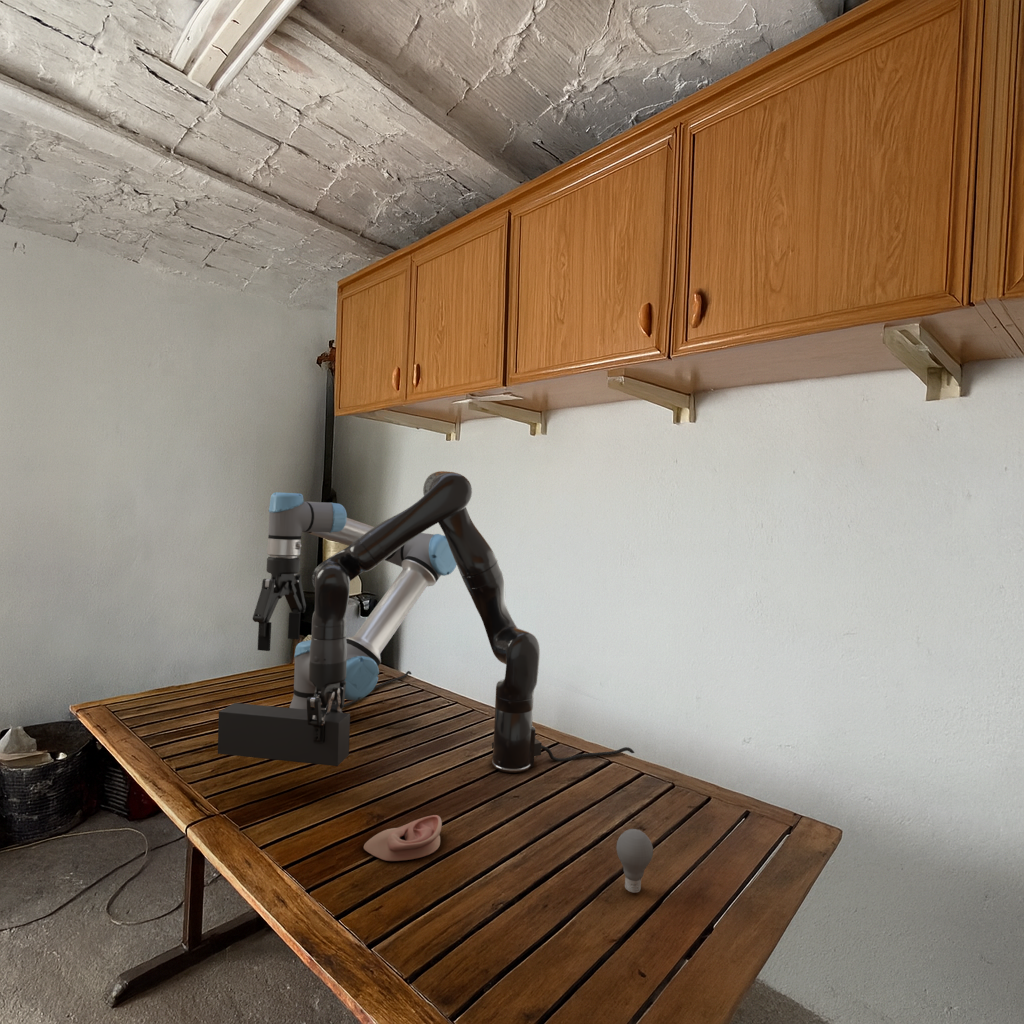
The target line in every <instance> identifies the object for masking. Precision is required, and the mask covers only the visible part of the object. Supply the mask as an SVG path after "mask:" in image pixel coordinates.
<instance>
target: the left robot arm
mask: <svg viewBox="0 0 1024 1024" xmlns="http://www.w3.org/2000/svg"><path fill="white" fill-rule="evenodd" d="M268 512H269V513H268V536H267V537H268V538H267V547H266V548H267V549H266V554H267V555H268V557H267V558H266V573H269V574H270V575H271V576H270V578H263V579H262V583H261V590H260V592H259V596H258V599H257V602H256V606H255V609H254V612H253V615H252V621H253V622H254V623H258V629H257V630H258V631H257V651H263V652H270V651H271V642H272V641H271V640H272V639H271V638H272V621H271V622H270V620H271V618H272V616H273V614H274V612H275V610H276V607H277V605H278V603H279V600H281V599H282V598H283V597H285V600H286V602H287V604H288V607H289V609H290V611H291V612H289V613H288V627H287V639H290V640H300V636H301V635H300V634H301V633H300V632H301V613H302V614H304V613H306V608H307V604H306V599H305V594H304V589H303V585H302V584H303V583H302V574H300V573H299V572H300V570H301V558H300V557H299V556H300V555H301V548H302V547H303V545H302V543H301V542H302V533H304V534H309V535H311V536H315V537H319V538H322V539H325V540H328V541H332V542H335V543H338V544H342V545H344V546H347V547H348V546H350V545H351V544H352V543H353V542H354V541H356V540H357V539H358V538H360V537H361V536H362V535H364V534H365V533H367V532H368V531H369V530H371V529H372V528H374V527H375V526H372V525H370V524H367V523H364V522H362V521H358V520H356V519H352V518H349V517H348V514H347V509H346V508H345V506H344V505H342V504H341V503H338V502H337V503H336V502H330V501H329V502H324V501H323V502H321V501H305V499H304V495H303V494H302V493H298V492H297V493H295V492H279V491H278V492H277V491H276V492H273V493H272V494H271V495H270V499H269V509H268ZM384 561H386V562H388V563H391V564H393V565H396V566H398V567H400V568H402V569H401V571H400V572H399V574H398V576H396V578H395V580H394V581H393V582H392V583H391V585H390V586H389V588H388V589H387V590H386V592H385V593H384V595H383V596H382V597H381V599H380V600H378V601H379V602H378V603H377V604H376V605H375V607H373V610H372V611H371V612H370V614H369V615H368V616H367V618H366V619H365V620H364V622H363V623H362V625H361V626H360V628H359V629H357V631H356V633H355V634H354V635H353V636H348V637H346V641H347V666H346V679H345V680H344V681H346V689H345V699H344V700H347V701H349V702H347V703H344V707H343V708H346V707H349V706H351V705H353V704H355V703H357V702H359V701H360V700H362V699H364V698H366V697H367V696H368V695H369V694H370V693H372V692H373V691H374V690H377V689H378V688H381V687H383V686H385V685H388V684H391V683H393V682H396V681H400V680H402V679H404V678H406V677H408V675H412V672H411V671H410V670H407V671H406V672H405V674H402V675H401V676H398V677H395V678H392V679H389V680H386V681H385V682H382V683H380V684H378V681H379V676H378V675H379V674H380V668H379V666H380V665H381V663H382V659H381V658H382V657H381V653H382V652H383V650H384V649H385V648H386V646H387V645H388V644H389V642H390V640H391V639H392V638H393V635H395V634H396V632H397V630H398V629H399V627H400V626H401V625H402V623H403V622H404V620H405V619H406V617H407V616H408V615H409V613H410V612H411V610H412V609H413V607H414V606H415V605H416V603H417V601H418V600H419V598H420V597H421V596H422V594H423V593H424V592H425V590H426V588H427V587H433V586H435V585H436V583H437V582H438V580H439V579H440V577H443V576H445V577H446V576H449V575H451V574H452V573H453V572H454V571H455V569H456V567H457V564H456V562H455V560H454V557H453V555H452V552H451V550H450V547H449V544H448V542H447V539H446V537H445V534H441V533H435V534H434V533H424V532H422V533H420V534H419V535H417V536H416V537H415V538H413V539H412V540H410V541H409V542H407V543H406V544H405V545H403V546H402V547H401V548H399V549H398V550H397V551H395V552H394V553H393V554H391V555H390V556H389V557H388V558H386V559H385V560H384ZM310 644H311V640H308V641H303V640H302V641H300V642H299V643H297V644H296V646H295V650H294V655H293V657H294V672H293V673H294V674H293V695H292V696H293V697H292V699H291V702H290V704H289V707H288V708H295V709H306V710H307V698H308V697H313V696H314V692H315V687H316V685H315V684H314V683H312V682H310V680H309V661H310ZM325 709H326V708H321V710H325ZM340 713H344V712H343V709H340Z"/></svg>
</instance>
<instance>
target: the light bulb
mask: <svg viewBox="0 0 1024 1024" xmlns="http://www.w3.org/2000/svg"><path fill="white" fill-rule="evenodd" d="M615 849H616V854H617V857H618V859H619V861H620V863H621V865H622V867H623V873H624V874H623V875H624V876H625V878H624V888H625V890H627V891H628V892H630V893H634V894H635V893H639V892H640V891H641V889H642V887H641V886H642V879H643V877H644V875H645V871H646V868H647V867H648V866H649V864H650V863H651V861H652V859H653V855H654V847H653V843H652V841H651V838H649V836H648V835H647V834H646V833H645V832H643V831H642V830H641V829H636V828H629V829H627V830H625V831H623V832H622V833H621V834H620V835H619V837H618V839H617V841H616V847H615Z"/></svg>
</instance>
